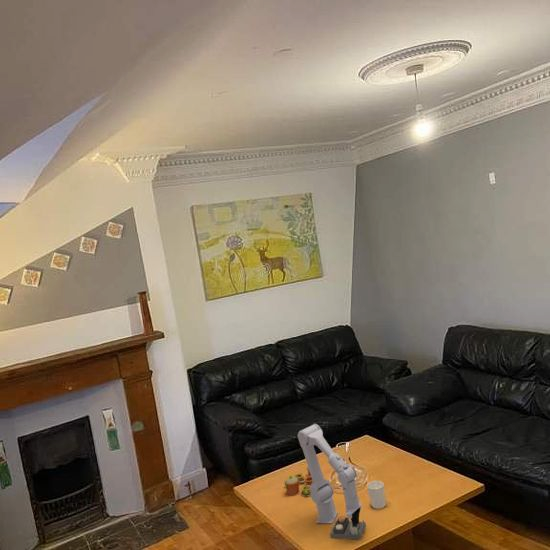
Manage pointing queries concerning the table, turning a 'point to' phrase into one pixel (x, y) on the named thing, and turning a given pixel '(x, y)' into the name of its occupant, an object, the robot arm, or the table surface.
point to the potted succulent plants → (294, 482)
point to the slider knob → (354, 528)
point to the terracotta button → (342, 519)
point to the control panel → (347, 530)
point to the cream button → (339, 527)
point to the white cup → (376, 494)
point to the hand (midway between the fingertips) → (356, 525)
